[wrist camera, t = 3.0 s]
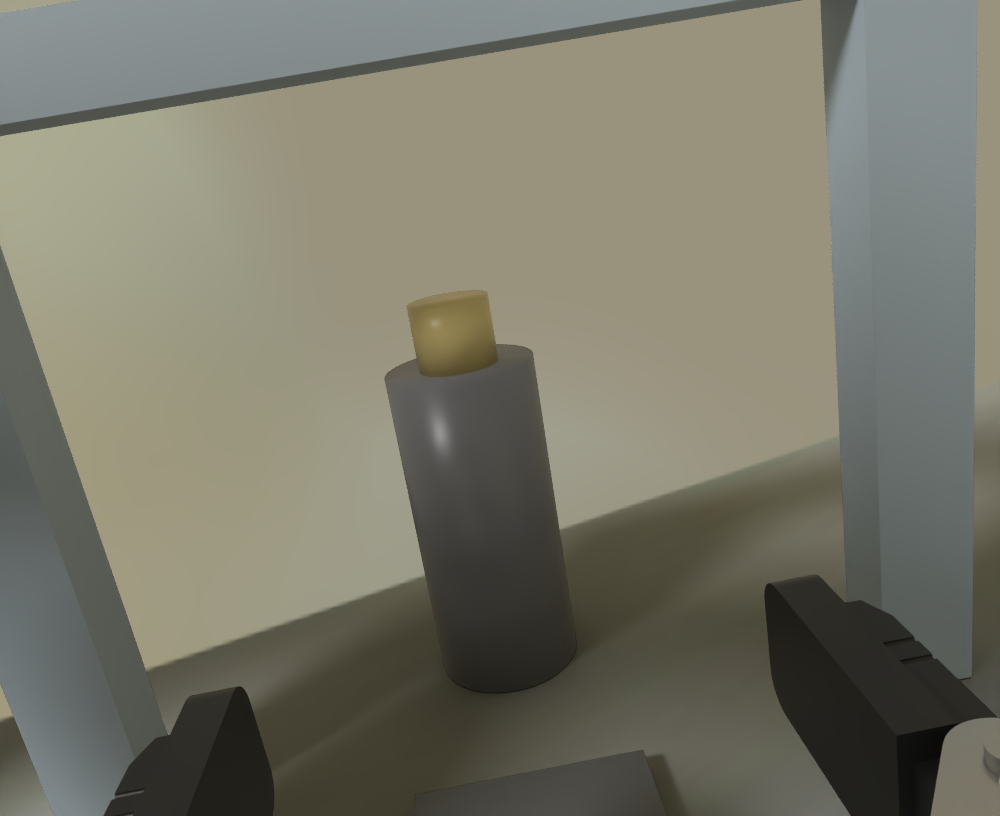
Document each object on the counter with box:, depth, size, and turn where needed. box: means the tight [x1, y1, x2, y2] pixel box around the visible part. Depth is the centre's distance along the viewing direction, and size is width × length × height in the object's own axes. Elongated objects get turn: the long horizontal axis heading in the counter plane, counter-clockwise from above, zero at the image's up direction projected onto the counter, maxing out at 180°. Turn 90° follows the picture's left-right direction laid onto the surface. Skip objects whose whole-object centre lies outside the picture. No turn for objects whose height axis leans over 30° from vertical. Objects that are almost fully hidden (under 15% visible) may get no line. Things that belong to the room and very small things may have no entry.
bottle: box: [385, 290, 576, 693], centre depth 26 cm, size 4×4×12 cm
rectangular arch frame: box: [0, 0, 977, 816], centre depth 20 cm, size 25×2×20 cm, turn 95°
